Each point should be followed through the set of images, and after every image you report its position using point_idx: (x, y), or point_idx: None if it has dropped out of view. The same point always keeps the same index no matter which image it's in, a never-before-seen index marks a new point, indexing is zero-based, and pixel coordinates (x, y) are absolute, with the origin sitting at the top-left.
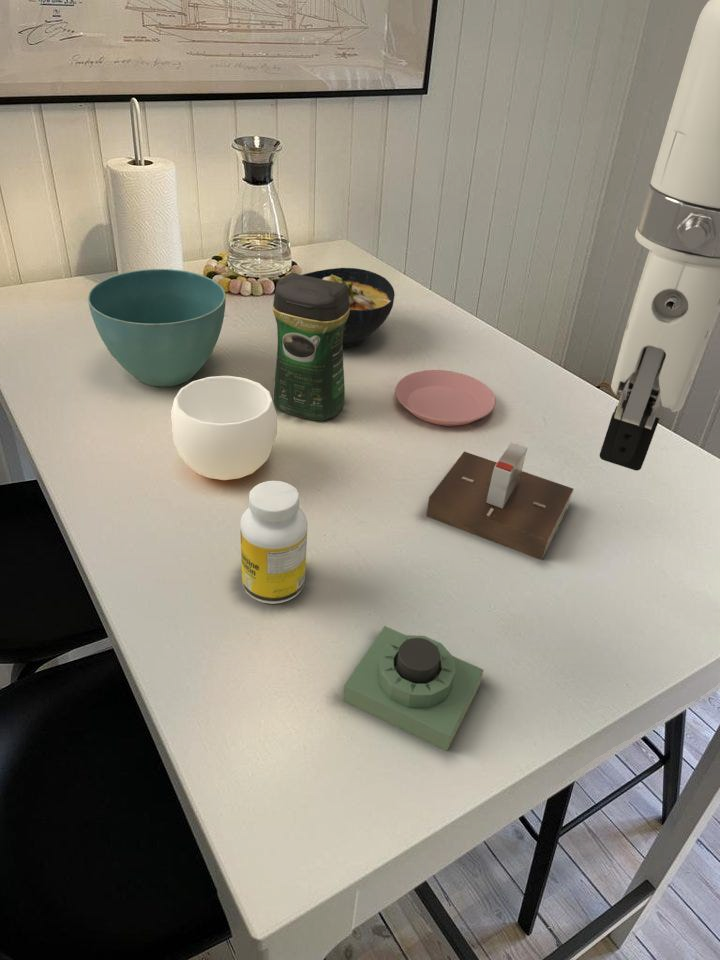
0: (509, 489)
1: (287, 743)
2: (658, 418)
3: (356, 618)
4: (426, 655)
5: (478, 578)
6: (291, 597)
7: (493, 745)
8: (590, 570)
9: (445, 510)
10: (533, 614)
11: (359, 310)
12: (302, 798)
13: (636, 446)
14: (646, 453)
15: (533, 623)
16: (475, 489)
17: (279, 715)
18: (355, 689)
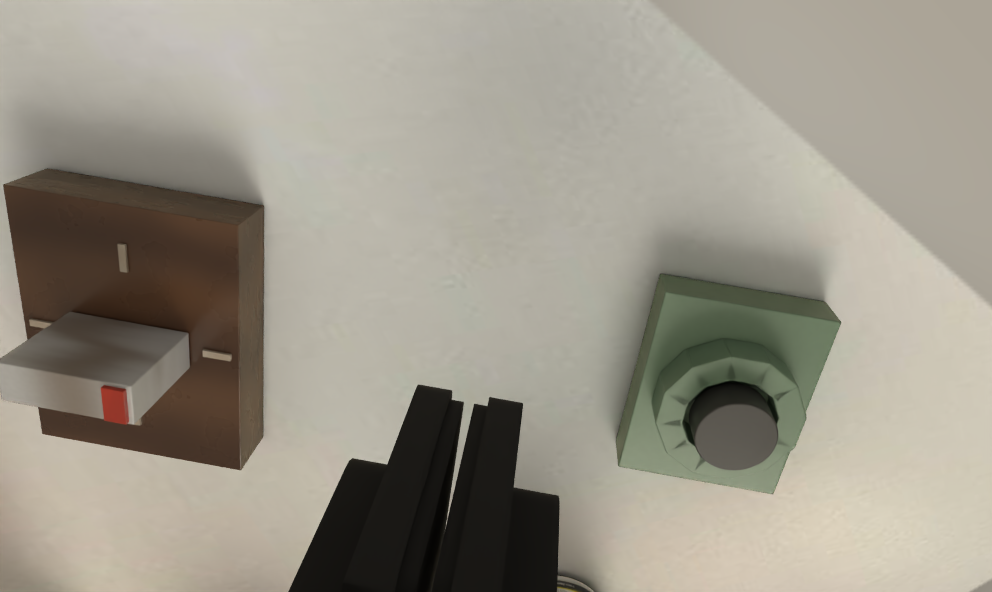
0: (141, 347)
1: (861, 514)
2: (350, 589)
3: (579, 487)
4: (737, 426)
5: (383, 318)
6: (583, 586)
7: (791, 228)
8: (233, 93)
9: (249, 426)
10: (434, 201)
11: None
12: (954, 473)
13: (557, 565)
14: (513, 464)
15: (459, 198)
16: None
17: (813, 535)
18: (777, 477)
